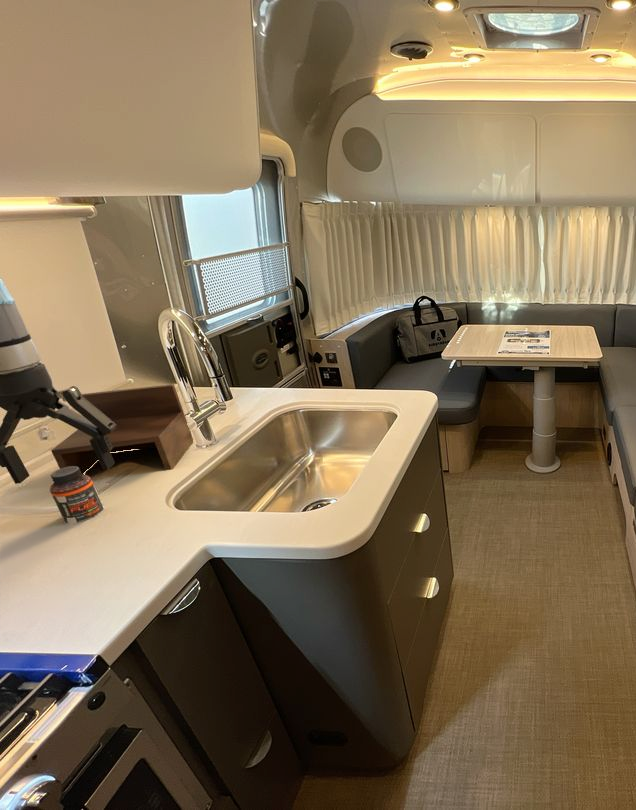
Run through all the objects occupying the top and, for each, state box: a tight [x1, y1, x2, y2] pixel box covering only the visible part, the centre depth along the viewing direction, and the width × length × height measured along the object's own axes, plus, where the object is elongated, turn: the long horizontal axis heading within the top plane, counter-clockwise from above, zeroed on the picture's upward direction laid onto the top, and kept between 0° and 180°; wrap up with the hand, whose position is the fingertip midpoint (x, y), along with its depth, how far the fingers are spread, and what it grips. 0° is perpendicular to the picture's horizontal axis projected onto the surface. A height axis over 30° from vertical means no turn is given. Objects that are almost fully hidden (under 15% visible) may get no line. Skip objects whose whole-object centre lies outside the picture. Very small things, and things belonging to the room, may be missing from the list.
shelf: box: [50, 384, 194, 474], centre depth 113 cm, size 15×20×16 cm
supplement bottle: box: [49, 466, 105, 524], centre depth 93 cm, size 6×6×11 cm
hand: (66, 473), depth 91 cm, fingers open, 13 cm apart
